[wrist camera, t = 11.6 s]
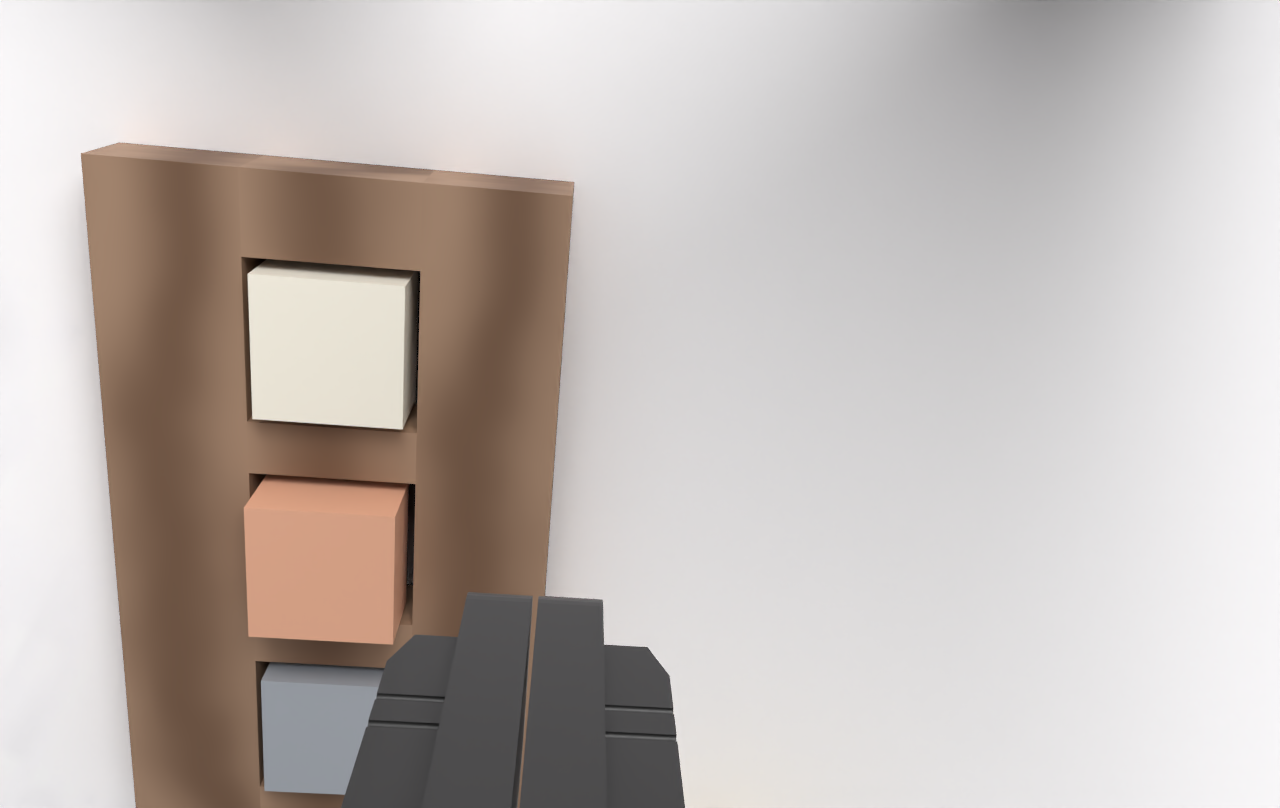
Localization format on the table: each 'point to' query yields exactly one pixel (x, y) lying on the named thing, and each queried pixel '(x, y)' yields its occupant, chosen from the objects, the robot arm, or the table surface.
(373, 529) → the terracotta pad
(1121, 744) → the table surface
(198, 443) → the button board
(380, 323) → the cream pad
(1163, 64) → the table surface
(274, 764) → the grey pad
